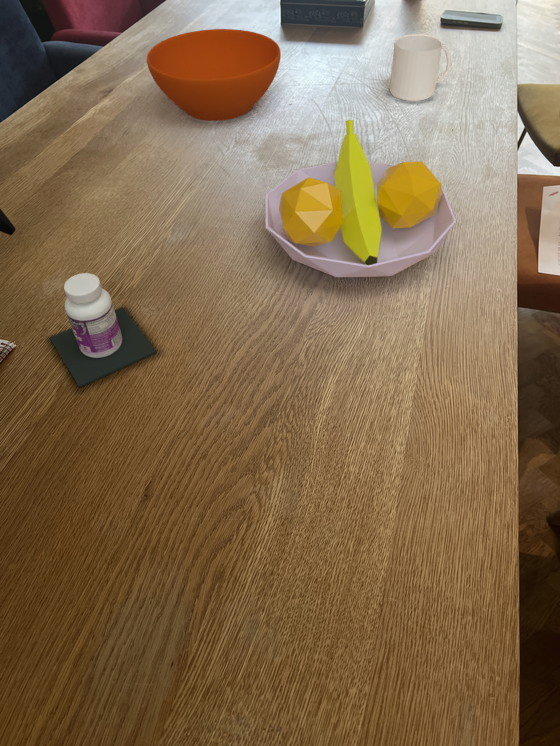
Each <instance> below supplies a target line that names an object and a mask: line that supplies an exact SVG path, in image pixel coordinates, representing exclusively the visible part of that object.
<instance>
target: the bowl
mask: <svg viewBox="0 0 560 746" xmlns="http://www.w3.org/2000/svg"><path fill="white" fill-rule="evenodd" d="M281 54H282V52H281V47H280V46H279V44H278V43H277V42H276V41H275V40H274V39H272V38H270V37H269V36H266V35H265V34H262V33H258V32H256V31H251V30H243V29H233V28H232V29H231V28H211V29H201V30H195V31H189V32H188V31H187V32H183V33H180V34H178V35H173V36H171V37H168V38H166V39H164V40H162V41H160V42H158V43H156V44H155V45H154V46H153V47H152V48H151V49H150V50H148V53H147V55H146V65H147V68H148V70H149V74H150V75H151V77H152V79H153V81H154V82H155V84H156V85H157V87H158V88H159V89H160V91H161V92H162V93H163V94H164V95H165V96H166V97H167V98H168V99H169V100H170V101H171V102H172V103H174V104H175V105H176V106H177V107H179V108H180V109H181V110H183V112H184V113H186V114H187V115H188V116H189V117H192V118H194V119H197V120H201V121H207V122H221V121H229V120H233V119H237V118H240V117H243V116H244V115H246V114H247V113H249V112H250V111H251V110H252V109H253V108H254V107H255V106H256V104H257V103H258V102H259V101H260V100H261V99H262V98H263V96H264V95H265V94H266V93H267V91H268V90H269V88H270V87H271V85H272V83H273V82H274V79H275V78H276V76H277V73H278V70H279V67H280V62H281V57H282V56H281Z"/></svg>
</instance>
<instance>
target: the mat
mask: <svg viewBox="0 0 560 746" xmlns="http://www.w3.org/2000/svg"><path fill="white" fill-rule="evenodd" d="M114 310H115V314H116V317H117V321H118V324H119V327H120V331H121V335H122V343H121V346H120V347H119V348H118V350H117V351H115V352H114V353H113V354H111V355H109V356H106V357H101V358H93V357H89V356H86V355H85V354H83V353H82V352H81V350H80V348H79V345H78V343H77V340H76V338H75V335H74V332H73V330H72V327H71V328H69V329H66V330H64V331H61V332H59V333H57V334H55V335H52V336H50V337H49V340H50V341H51V343H52V345H53V346H54V349H55V350H56V351H57V354H58V355H59V356H60V358H61V360H62V362H63V363H64V365H65V367H66V368H67V370H68V371H69V373H70V375H71V377H72V378H73V380H74V381H75V384H76V385H77V386H78V388H79V389H81V388H83V387H85V386H87V385H89V384H92V383H94V382H97V381H98V380H100V379H102V378H105V377H107V376H109V375H112V374H114V373H116V372H118V371H120V370H123V369H125V368H127V367H129V366H131V365H133V364H136V363H138V362H140V361H143V360H145V359H146V358H149V357H151V356H154V355H156V354H157V350H156V349H155V348H154V346H153V345H152V343H151V342H150V341H149V340H148V338H147V336H145V335H144V333H143V332H142V330H141V329H140V328H139V326H138V325H137V324H136V322H135V321H134V320H133V319H132V316H130V315H129V313H128V312H127V311H126V309H125V308H124V307H123V306H122V307H119V308H117V309H114Z"/></svg>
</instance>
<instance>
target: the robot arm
mask: <svg viewBox="0 0 560 746" xmlns="http://www.w3.org/2000/svg"><path fill="white" fill-rule="evenodd" d="M16 231H17V229H16V226H14V224H13V223H12V221H11V220H10V219H9V218H8V216H7V215H6V214H5V212H4V211H3V210H2V209H1V208H0V232H1V233H4V234H6V235H9V236H13V234H14V233H15V232H16Z"/></svg>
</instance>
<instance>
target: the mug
mask: <svg viewBox="0 0 560 746" xmlns="http://www.w3.org/2000/svg"><path fill="white" fill-rule="evenodd" d="M393 43H394V44H393V52H392V53H393V54H392V63H391V70H390V71H391V73H390V80H389V82H390V83H389V92H390V94H391V95H392V96H393V97H395V98H396V99H399V100H402V101H408V102H421V101H426V100H428V99H430V98H431V97H433V96H434V94H435V93H436V86H437V83H441V82H442V81H443V80H445V79H446V78H447V77H448V76H449V75H450V73H451V68H452V55H451V52H450V50H449V48H448V46H447V45H446V44H444V43H443V41H442V40H441V39H440V38H438V37H436V36H433V35H429V34H421V33H412V34H405V35H401V36H398V37H397V38H395V40H394V42H393ZM442 50H443V52H444V54H445V57H446V66H445V70H444V71H443V72H442V73H441V74H440V75H439V76H438V74H439V68H440V62H441V55H442Z"/></svg>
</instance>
